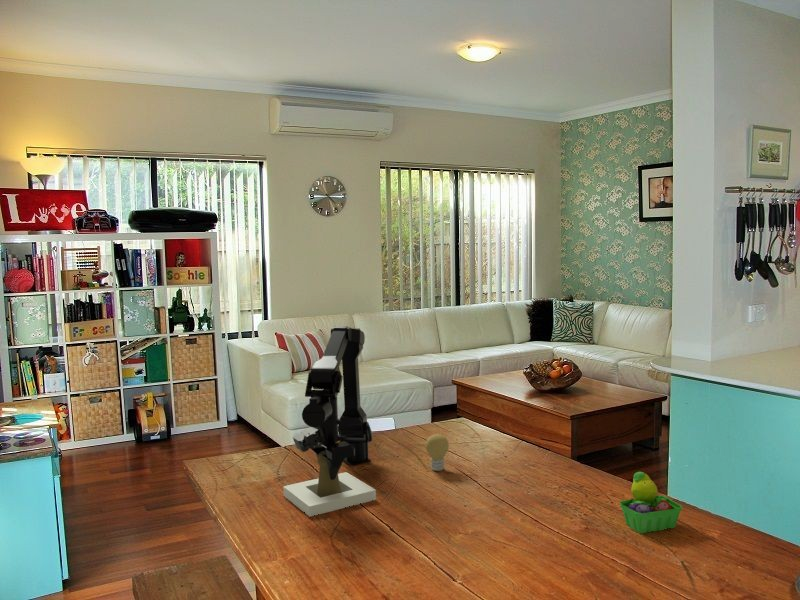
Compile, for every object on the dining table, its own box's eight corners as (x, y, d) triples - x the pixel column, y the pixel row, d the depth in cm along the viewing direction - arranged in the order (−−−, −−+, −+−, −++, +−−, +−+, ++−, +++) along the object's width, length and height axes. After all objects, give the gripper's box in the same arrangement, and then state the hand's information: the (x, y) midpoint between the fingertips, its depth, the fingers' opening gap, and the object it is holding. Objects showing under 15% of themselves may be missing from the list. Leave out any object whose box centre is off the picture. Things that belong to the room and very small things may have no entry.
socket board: (346, 481, 182) (346, 472, 181) (376, 499, 168) (375, 489, 168) (283, 495, 172) (283, 486, 172) (309, 516, 159) (309, 506, 158)
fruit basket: (638, 537, 144) (638, 485, 143) (614, 520, 152) (614, 472, 151) (684, 529, 147) (684, 479, 146) (658, 514, 155) (658, 466, 154)
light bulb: (449, 465, 192) (448, 431, 191) (448, 473, 185) (448, 438, 184) (426, 465, 192) (426, 431, 191) (425, 473, 186) (424, 438, 185)
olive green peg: (312, 496, 169) (310, 453, 168) (325, 488, 174) (324, 446, 173) (332, 500, 166) (330, 456, 165) (345, 491, 171) (344, 449, 170)
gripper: (281, 413, 172) (284, 472, 173) (312, 430, 156) (314, 495, 158) (321, 406, 178) (323, 464, 179) (354, 422, 162) (357, 485, 164)
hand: (328, 476), depth 170 cm, fingers closed on olive green peg, 4 cm apart
